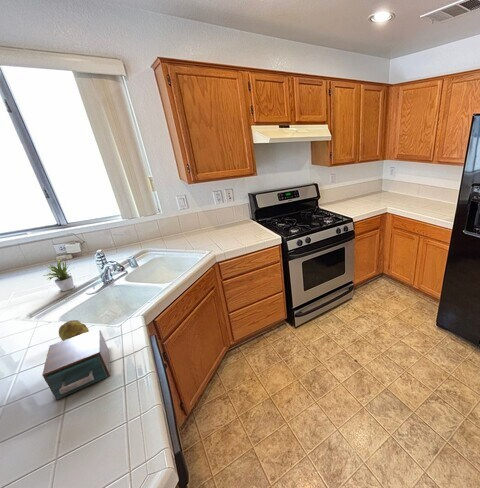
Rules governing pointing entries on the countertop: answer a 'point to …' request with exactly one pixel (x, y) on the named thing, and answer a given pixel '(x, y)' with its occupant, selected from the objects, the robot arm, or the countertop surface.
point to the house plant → (61, 277)
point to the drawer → (76, 376)
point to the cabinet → (76, 353)
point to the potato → (72, 329)
